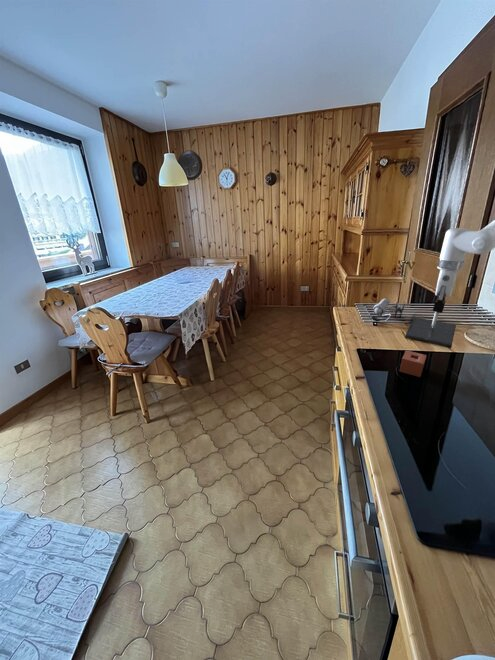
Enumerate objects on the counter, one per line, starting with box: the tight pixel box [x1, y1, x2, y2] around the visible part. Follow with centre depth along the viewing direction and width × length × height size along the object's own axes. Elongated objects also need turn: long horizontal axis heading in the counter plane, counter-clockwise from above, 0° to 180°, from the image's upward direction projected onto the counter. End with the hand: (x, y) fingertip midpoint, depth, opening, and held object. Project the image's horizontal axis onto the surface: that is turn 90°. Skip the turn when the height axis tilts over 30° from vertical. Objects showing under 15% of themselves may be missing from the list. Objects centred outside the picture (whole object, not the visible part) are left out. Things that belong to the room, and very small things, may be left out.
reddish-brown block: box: [398, 349, 427, 378], centre depth 91 cm, size 6×6×5 cm
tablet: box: [404, 316, 457, 349], centre depth 113 cm, size 16×20×1 cm
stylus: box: [432, 312, 440, 328], centre depth 111 cm, size 1×1×13 cm
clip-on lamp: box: [369, 298, 406, 323], centre depth 127 cm, size 12×6×18 cm
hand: (437, 310), depth 111 cm, fingers closed on stylus, 1 cm apart
